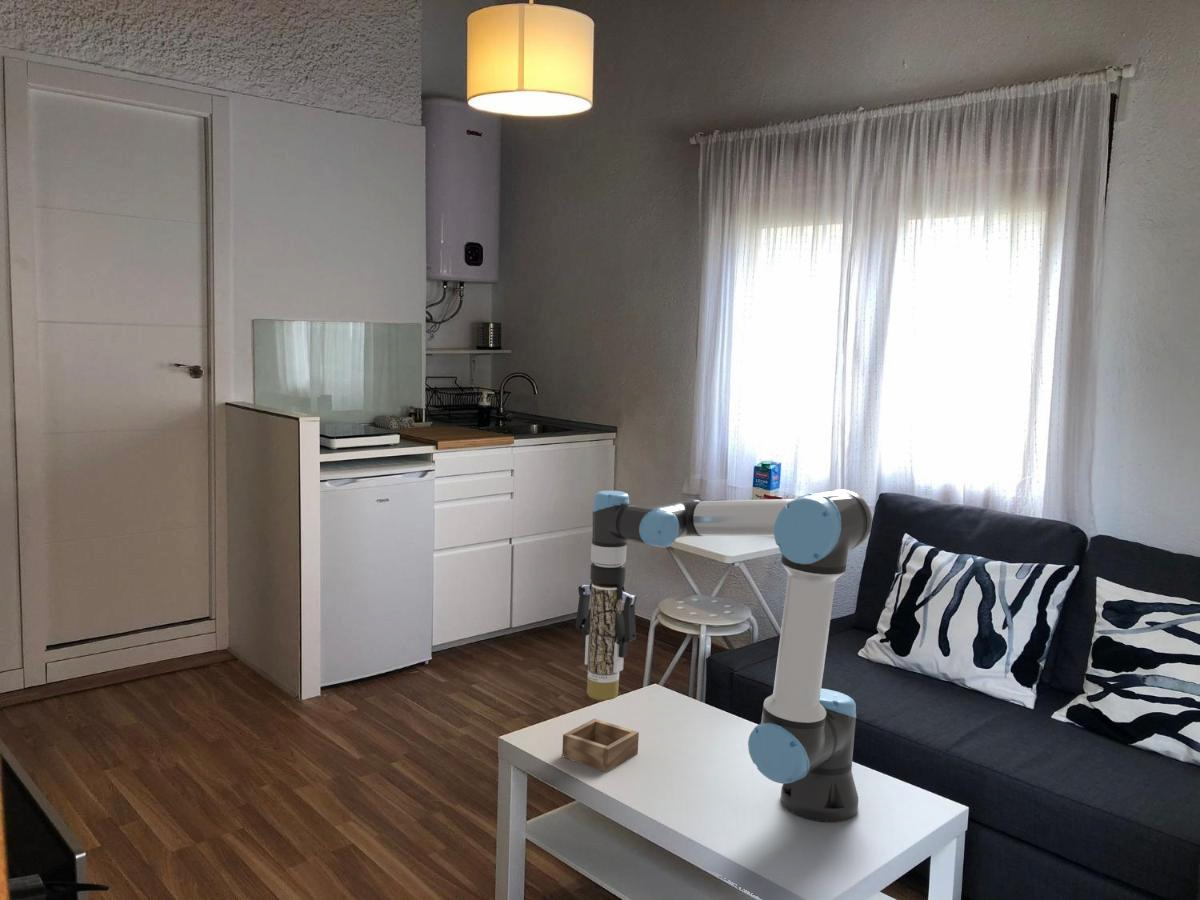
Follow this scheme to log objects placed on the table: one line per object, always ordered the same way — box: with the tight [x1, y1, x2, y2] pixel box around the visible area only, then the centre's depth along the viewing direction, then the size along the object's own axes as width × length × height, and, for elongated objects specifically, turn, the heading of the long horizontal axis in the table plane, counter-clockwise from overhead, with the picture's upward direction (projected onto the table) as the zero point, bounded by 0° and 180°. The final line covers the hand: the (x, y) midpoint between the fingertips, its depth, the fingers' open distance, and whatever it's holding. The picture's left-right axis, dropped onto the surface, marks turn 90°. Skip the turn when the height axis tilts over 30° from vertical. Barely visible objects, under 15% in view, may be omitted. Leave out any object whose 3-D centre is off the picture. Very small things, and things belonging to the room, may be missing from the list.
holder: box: [561, 718, 640, 773], centre depth 220 cm, size 12×12×5 cm
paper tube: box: [586, 582, 623, 701], centre depth 217 cm, size 7×7×25 cm
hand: (603, 666), depth 218 cm, fingers closed on paper tube, 7 cm apart
